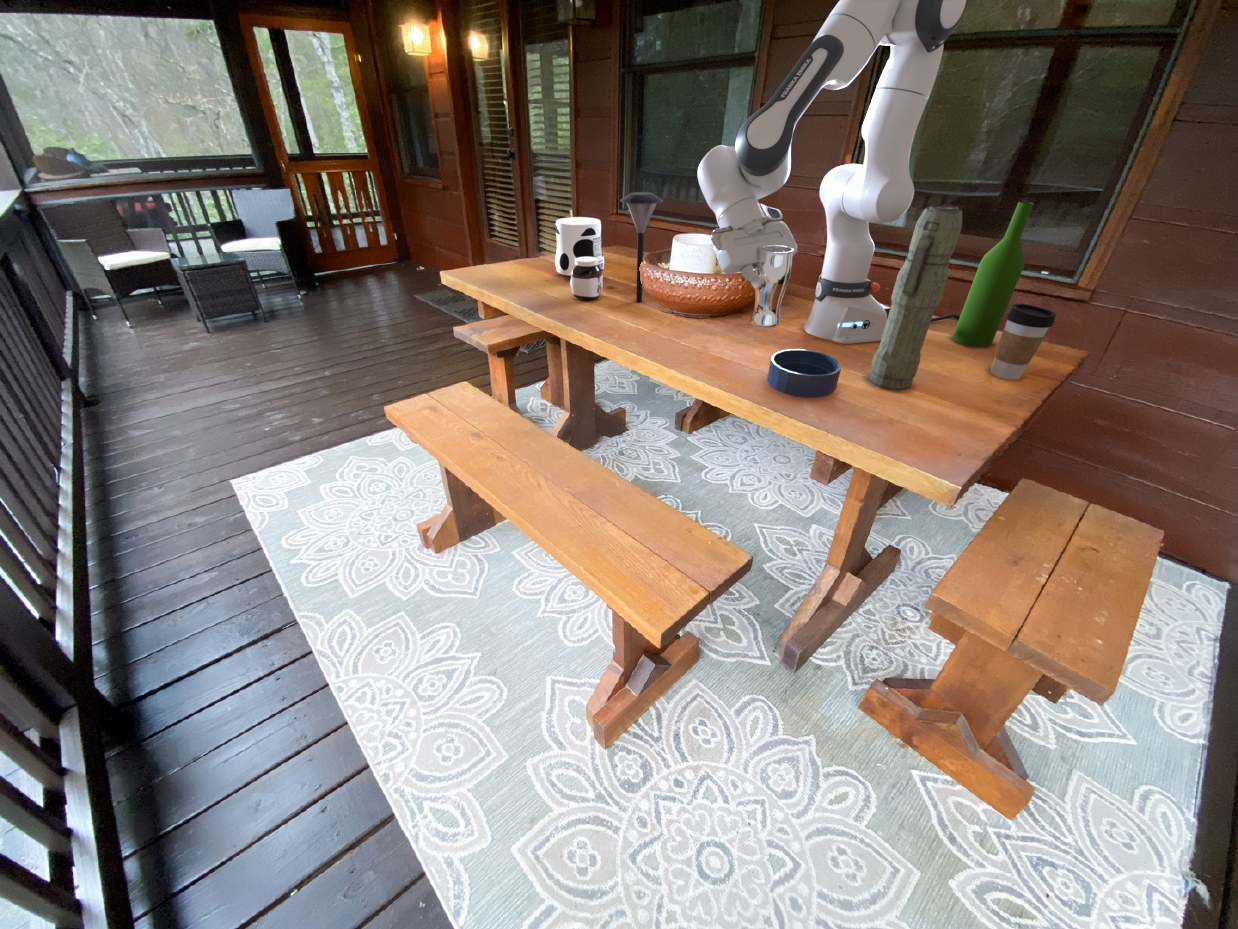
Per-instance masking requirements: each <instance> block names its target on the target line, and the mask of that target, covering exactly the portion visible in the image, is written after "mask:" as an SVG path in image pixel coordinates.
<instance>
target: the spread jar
mask: <svg viewBox="0 0 1238 929" xmlns="http://www.w3.org/2000/svg"><path fill="white" fill-rule="evenodd" d="M575 264H576V266H575V267H574V269H573V271H572V274H571V278H570V280H569V285H570V288H571V294H572V296H573V297H574V298H576V299H577V300H579V301H583V302H591V301H596V300H598V299H599V298H600V297H601V295H602V293H603V287H604V286H603V285H604V281H603V280H604V278H603V271H602V270H601V268H600V267H599V266H598V265H597V264H598V259H597V258H595V257H578V258H576V259H575Z"/></svg>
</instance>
